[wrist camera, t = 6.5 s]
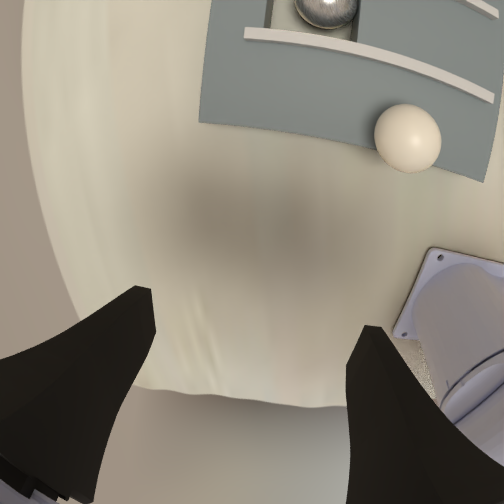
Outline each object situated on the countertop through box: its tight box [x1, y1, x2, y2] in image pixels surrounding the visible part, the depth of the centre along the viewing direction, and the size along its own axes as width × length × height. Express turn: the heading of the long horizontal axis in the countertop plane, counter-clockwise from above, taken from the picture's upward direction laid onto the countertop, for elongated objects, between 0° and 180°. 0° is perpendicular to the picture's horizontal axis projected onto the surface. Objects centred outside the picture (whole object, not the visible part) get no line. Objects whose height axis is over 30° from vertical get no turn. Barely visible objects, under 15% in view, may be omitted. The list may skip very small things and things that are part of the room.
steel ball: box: [295, 0, 357, 29], centre depth 11 cm, size 3×3×3 cm
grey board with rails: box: [199, 0, 504, 183], centre depth 11 cm, size 16×15×3 cm
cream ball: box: [374, 104, 441, 173], centre depth 12 cm, size 3×3×3 cm
